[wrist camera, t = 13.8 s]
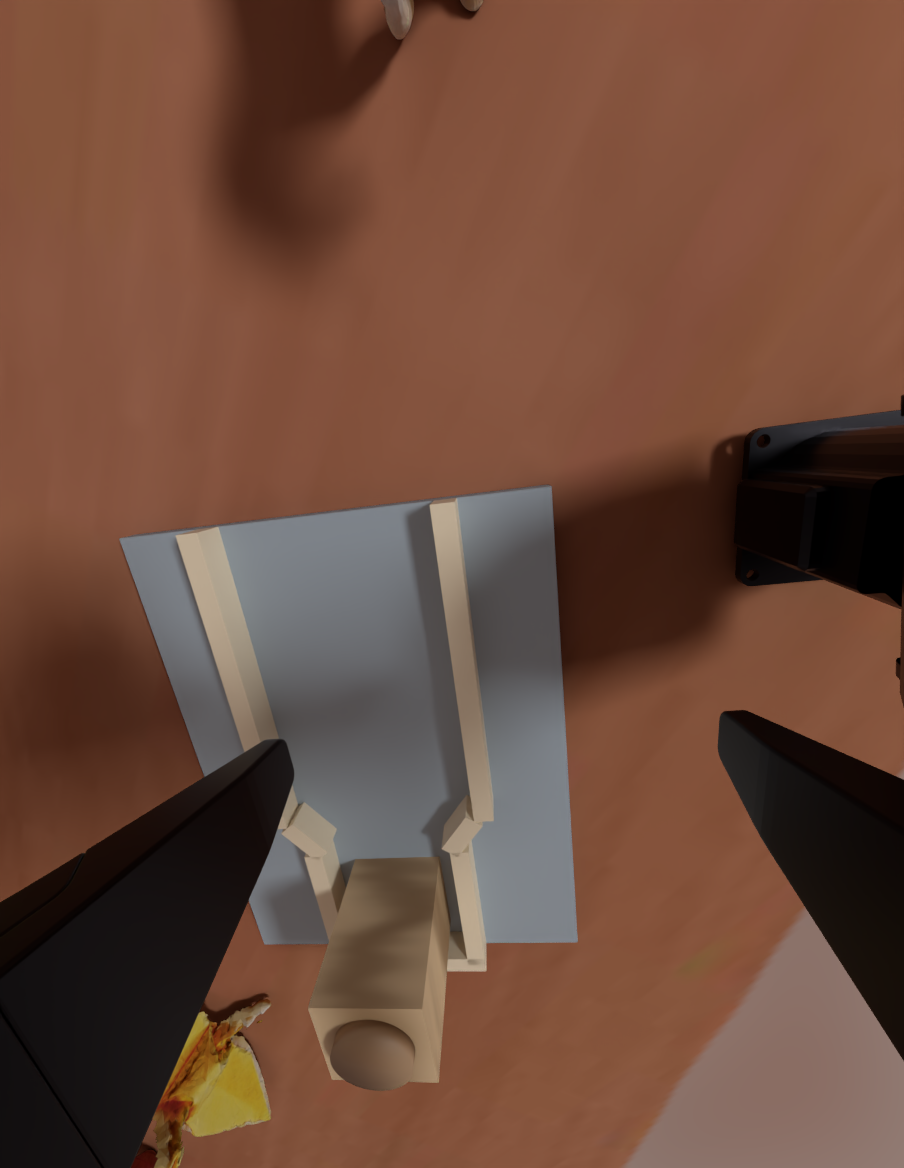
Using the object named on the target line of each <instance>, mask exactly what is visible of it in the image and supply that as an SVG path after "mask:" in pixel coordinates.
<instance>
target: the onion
mask: <svg viewBox="0 0 904 1168" xmlns="http://www.w3.org/2000/svg"><path fill="white" fill-rule="evenodd" d="M155 1156H156V1152H155V1151H154V1150H146V1151H144V1152H143V1153H142V1154H140V1155H138V1156H137V1157H135V1159H134V1162H133V1164H132V1166H131V1168H154V1167H155V1164H156V1162H157V1157H155Z"/></svg>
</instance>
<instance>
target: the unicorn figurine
mask: <svg viewBox="0 0 904 1168" xmlns="http://www.w3.org/2000/svg"><path fill="white" fill-rule="evenodd" d="M460 1H461V3H462V5H463V6H464V7H465V8H466V9H467V10H469V11H476V10H478V9H479V7H480V6H481V5H482V3H483V0H460ZM381 2H382V3H383V5H384V11H385V15H386V20H387V24H388V26H389V28H390V31H391V32H392V34H393V35H394V36H395V38H396V39H403V38H404V37H405V36H406V34H407V33H408V31H409V29H410V26H411V22H412V18H413V14H414V1H413V0H381Z"/></svg>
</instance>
